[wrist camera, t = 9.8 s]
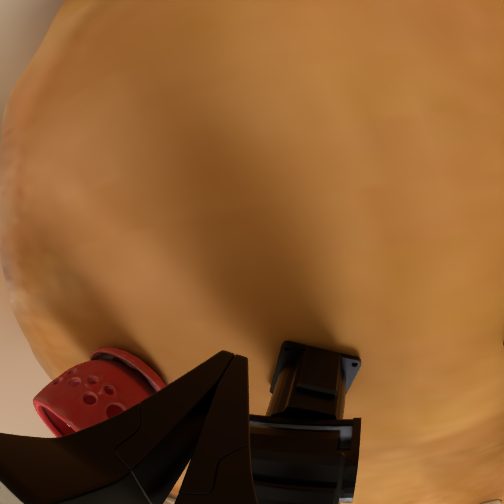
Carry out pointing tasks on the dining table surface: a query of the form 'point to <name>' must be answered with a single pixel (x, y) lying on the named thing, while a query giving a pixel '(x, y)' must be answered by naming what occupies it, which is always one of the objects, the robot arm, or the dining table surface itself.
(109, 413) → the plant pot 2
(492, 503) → the candlestick
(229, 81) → the dining table surface
